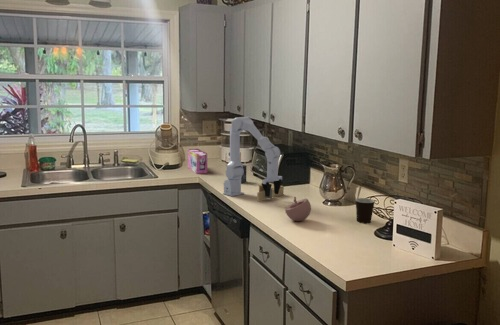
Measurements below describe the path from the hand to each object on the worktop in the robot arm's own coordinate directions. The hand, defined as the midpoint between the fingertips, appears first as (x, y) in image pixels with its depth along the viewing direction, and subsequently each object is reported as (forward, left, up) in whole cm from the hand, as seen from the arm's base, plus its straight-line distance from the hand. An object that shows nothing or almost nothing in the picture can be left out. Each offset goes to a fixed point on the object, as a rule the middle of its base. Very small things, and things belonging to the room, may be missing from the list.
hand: (271, 195), depth 263 cm
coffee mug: (+8, -53, -4) cm, 54 cm away
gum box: (+21, +91, -4) cm, 94 cm away
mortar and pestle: (-16, -32, -4) cm, 36 cm away
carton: (+11, +11, -3) cm, 16 cm away
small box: (+18, +47, -4) cm, 50 cm away
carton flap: (0, +2, -3) cm, 4 cm away
